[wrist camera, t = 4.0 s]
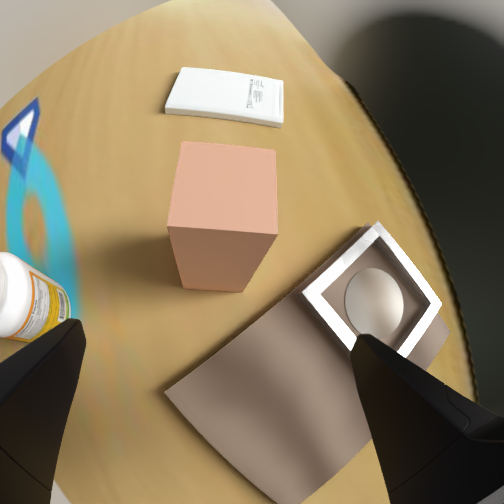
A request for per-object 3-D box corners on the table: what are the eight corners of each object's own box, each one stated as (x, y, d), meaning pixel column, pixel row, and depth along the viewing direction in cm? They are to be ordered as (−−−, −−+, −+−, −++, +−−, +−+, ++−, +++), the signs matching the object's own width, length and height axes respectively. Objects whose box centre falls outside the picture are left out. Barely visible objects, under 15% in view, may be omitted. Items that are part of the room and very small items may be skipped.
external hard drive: (182, 75, 31) (280, 88, 32) (165, 117, 28) (280, 131, 29) (182, 65, 29) (283, 78, 31) (164, 106, 26) (283, 121, 28)
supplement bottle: (13, 311, 18) (-61, 281, 9) (48, 267, 20) (-18, 216, 11) (47, 358, 17) (-31, 350, 8) (84, 312, 19) (16, 279, 10)
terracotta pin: (242, 292, 22) (277, 234, 12) (183, 288, 21) (167, 226, 11) (244, 237, 24) (275, 149, 14) (188, 233, 23) (182, 141, 13)
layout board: (285, 506, 16) (293, 518, 14) (165, 390, 19) (161, 394, 17) (443, 333, 24) (458, 330, 22) (362, 226, 26) (374, 216, 24)
